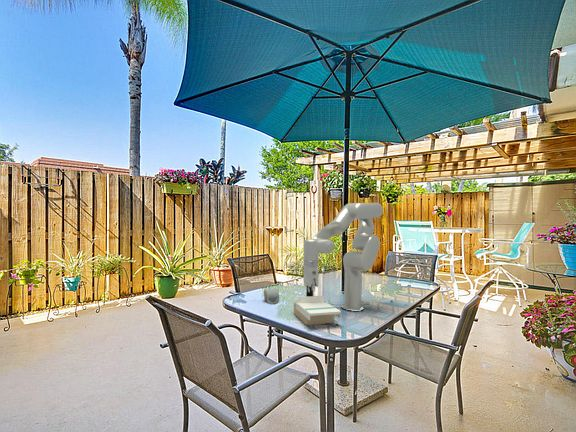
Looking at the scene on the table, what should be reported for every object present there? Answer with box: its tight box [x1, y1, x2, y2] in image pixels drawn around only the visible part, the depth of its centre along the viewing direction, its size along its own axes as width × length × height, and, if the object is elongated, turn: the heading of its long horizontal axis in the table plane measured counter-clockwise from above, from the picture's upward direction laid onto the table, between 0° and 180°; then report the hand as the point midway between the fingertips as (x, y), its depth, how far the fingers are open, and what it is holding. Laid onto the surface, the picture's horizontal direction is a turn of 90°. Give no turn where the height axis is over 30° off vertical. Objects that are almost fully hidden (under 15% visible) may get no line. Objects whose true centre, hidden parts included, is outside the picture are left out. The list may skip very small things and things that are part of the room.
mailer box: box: [293, 301, 335, 326], centre depth 150 cm, size 14×18×6 cm
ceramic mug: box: [263, 287, 280, 305], centre depth 178 cm, size 11×8×8 cm
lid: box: [295, 295, 342, 321], centre depth 145 cm, size 15×19×6 cm
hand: (309, 299), depth 155 cm, fingers closed
